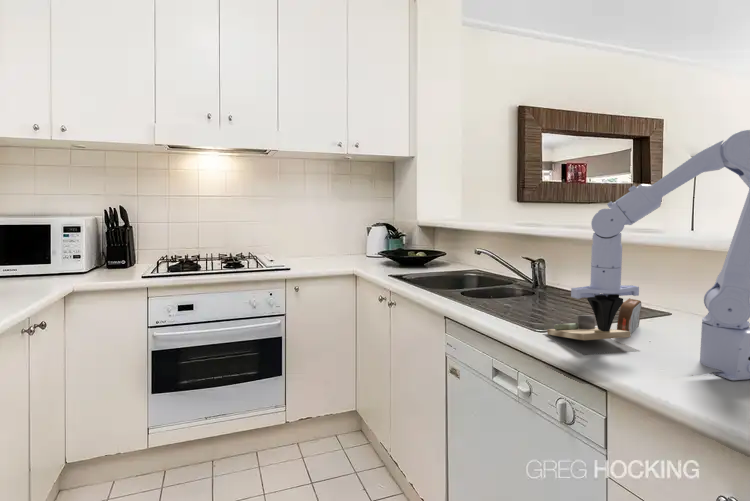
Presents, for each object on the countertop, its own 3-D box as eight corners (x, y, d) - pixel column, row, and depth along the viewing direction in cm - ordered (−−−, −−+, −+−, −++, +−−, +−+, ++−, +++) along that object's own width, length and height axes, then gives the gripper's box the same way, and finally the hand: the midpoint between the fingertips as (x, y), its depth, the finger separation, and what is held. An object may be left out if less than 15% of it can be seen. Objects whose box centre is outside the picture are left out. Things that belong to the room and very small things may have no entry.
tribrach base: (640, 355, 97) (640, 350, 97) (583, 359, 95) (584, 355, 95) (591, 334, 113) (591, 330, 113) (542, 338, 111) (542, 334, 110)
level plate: (546, 334, 110) (545, 316, 110) (589, 331, 112) (588, 314, 112) (582, 340, 96) (581, 319, 97) (630, 337, 98) (628, 317, 99)
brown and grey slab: (628, 327, 120) (629, 295, 119) (642, 329, 118) (643, 296, 117) (614, 340, 108) (616, 305, 107) (630, 343, 106) (631, 307, 105)
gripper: (623, 263, 102) (621, 323, 104) (563, 265, 100) (561, 327, 101) (647, 267, 95) (644, 332, 97) (583, 269, 93) (581, 336, 94)
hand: (603, 330), depth 98 cm, fingers closed, pressing on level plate
